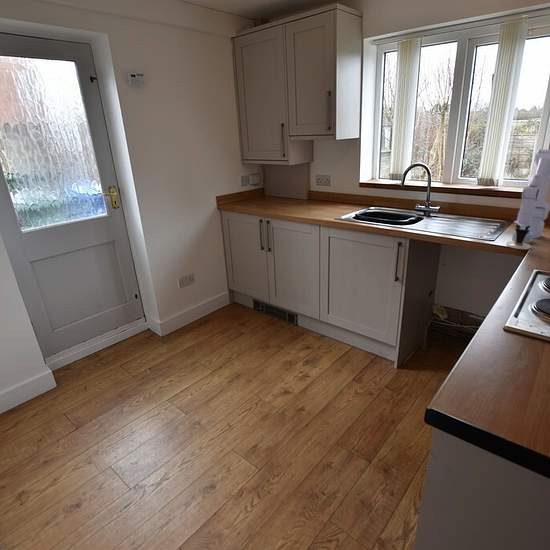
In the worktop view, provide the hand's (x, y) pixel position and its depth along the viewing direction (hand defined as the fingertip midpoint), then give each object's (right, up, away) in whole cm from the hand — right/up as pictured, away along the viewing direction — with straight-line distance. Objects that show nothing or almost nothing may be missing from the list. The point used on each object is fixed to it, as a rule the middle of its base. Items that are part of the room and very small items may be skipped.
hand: (519, 241), depth 177 cm
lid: (0, -2, +1) cm, 3 cm away
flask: (+26, +11, +35) cm, 45 cm away
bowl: (+7, +1, +10) cm, 12 cm away
